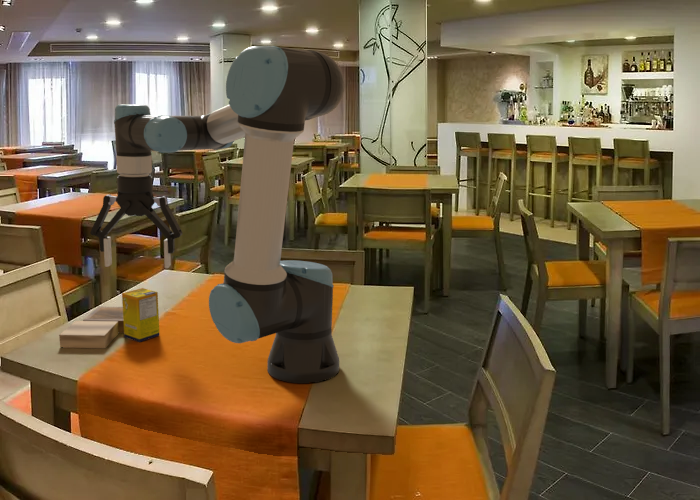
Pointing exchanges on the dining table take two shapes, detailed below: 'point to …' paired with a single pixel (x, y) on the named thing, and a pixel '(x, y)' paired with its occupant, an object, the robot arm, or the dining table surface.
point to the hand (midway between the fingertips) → (138, 266)
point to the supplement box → (140, 314)
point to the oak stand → (89, 334)
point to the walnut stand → (108, 316)
